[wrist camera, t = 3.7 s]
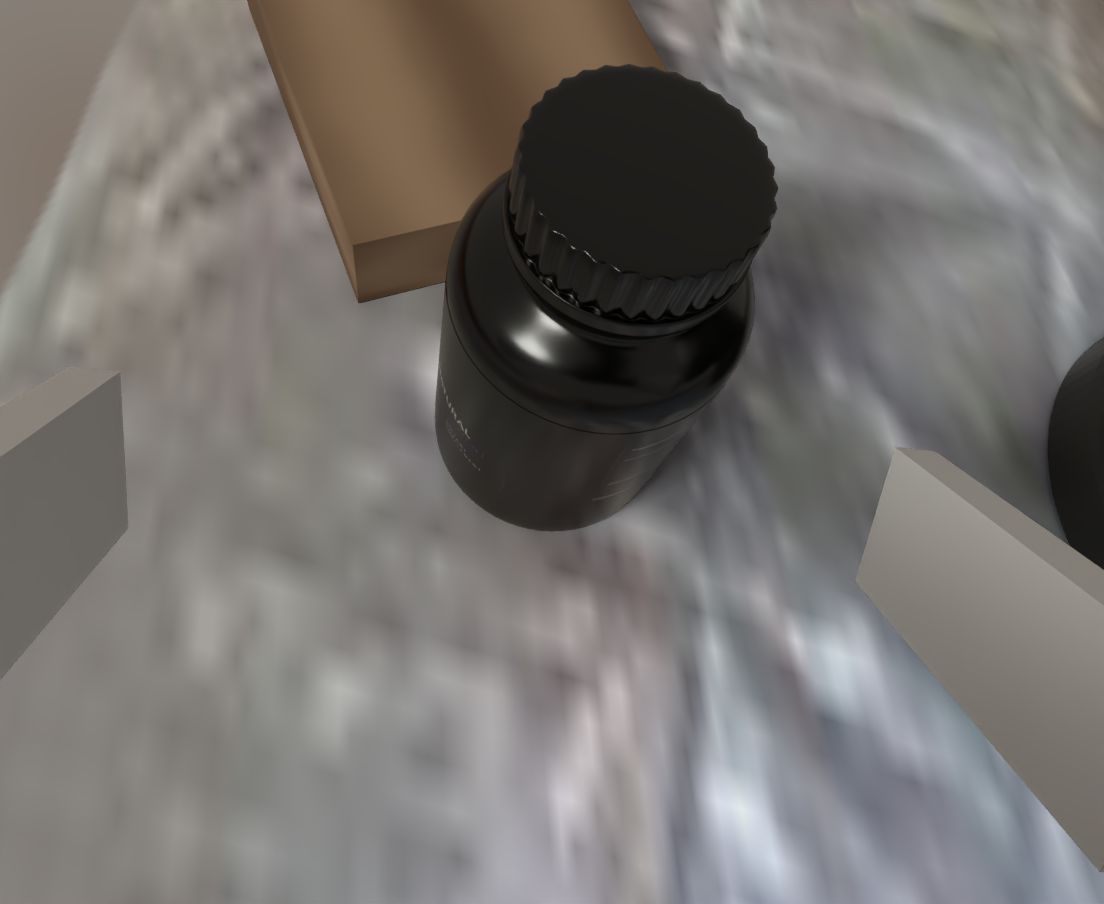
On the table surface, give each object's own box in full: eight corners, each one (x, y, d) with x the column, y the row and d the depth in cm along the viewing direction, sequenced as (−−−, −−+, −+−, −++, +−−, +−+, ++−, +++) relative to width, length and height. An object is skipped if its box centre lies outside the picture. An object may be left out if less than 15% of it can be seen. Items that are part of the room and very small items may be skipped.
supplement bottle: (384, 434, 25) (366, 144, 14) (533, 297, 27) (617, -38, 16) (560, 588, 24) (690, 408, 13) (696, 430, 26) (900, 169, 15)
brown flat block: (552, -36, 33) (565, -111, 31) (689, 220, 30) (718, 161, 27) (248, 7, 30) (233, -72, 27) (358, 303, 26) (352, 245, 23)
